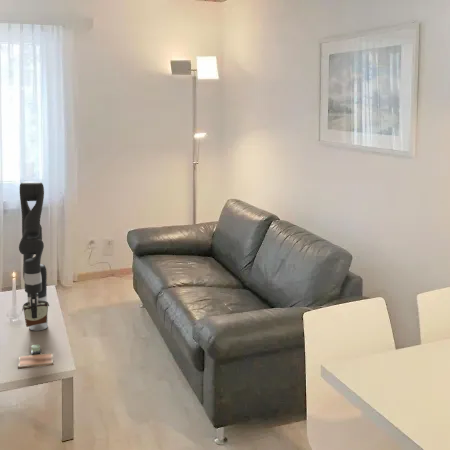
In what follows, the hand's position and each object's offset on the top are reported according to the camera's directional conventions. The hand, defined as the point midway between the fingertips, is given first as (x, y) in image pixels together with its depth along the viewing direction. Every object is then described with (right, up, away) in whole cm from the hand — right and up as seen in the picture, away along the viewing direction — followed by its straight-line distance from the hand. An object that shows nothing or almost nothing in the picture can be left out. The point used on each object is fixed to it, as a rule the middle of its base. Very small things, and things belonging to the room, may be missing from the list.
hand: (34, 314), depth 269 cm
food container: (0, -4, +1) cm, 4 cm away
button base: (+1, -18, -1) cm, 18 cm away
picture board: (+3, -19, -9) cm, 22 cm away
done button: (+1, -16, -2) cm, 16 cm away
